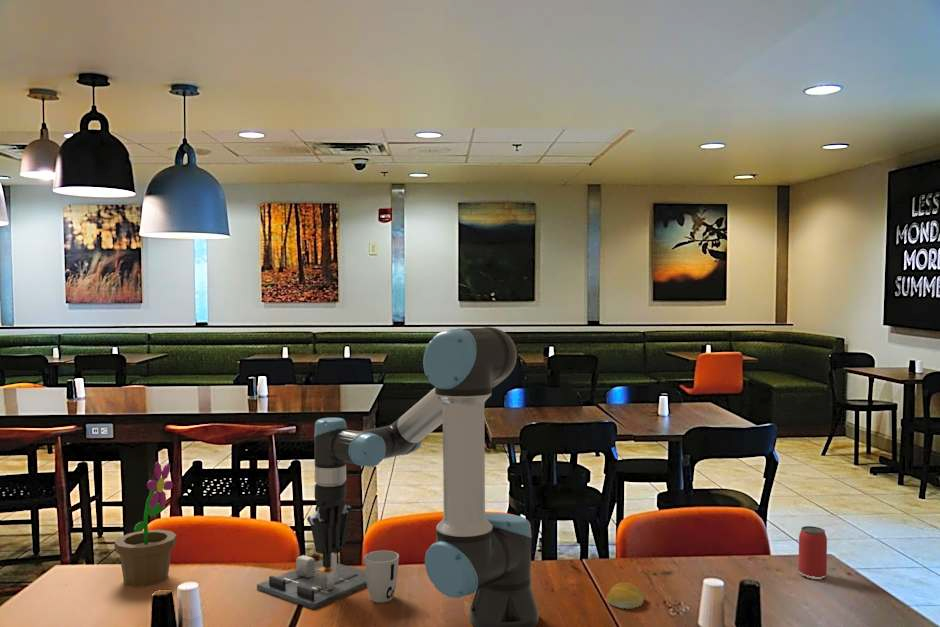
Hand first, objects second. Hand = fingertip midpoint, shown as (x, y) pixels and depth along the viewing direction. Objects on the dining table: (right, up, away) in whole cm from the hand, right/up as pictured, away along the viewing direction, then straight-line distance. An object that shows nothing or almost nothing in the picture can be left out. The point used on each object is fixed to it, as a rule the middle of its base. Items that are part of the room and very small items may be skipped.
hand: (330, 579), depth 184 cm
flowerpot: (-48, -3, +7) cm, 48 cm away
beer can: (+121, -3, +11) cm, 122 cm away
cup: (+13, -3, -4) cm, 14 cm away
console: (-3, -3, +4) cm, 6 cm away
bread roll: (+70, -4, -6) cm, 70 cm away
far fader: (-8, -1, +7) cm, 10 cm away
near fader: (-1, -1, -2) cm, 2 cm away
